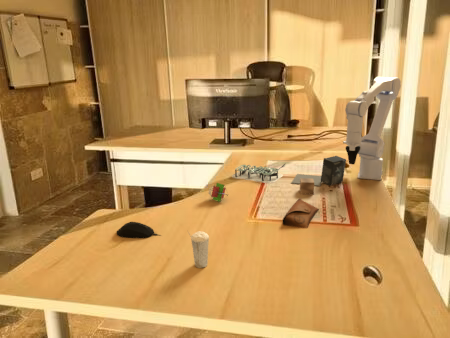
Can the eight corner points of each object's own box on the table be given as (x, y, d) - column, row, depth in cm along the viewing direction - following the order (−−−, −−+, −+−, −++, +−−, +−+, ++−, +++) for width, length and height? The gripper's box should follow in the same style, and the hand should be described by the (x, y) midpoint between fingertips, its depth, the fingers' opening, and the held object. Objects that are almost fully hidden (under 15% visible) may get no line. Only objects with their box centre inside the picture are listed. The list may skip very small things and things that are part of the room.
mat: (324, 177, 168) (324, 176, 168) (319, 186, 156) (319, 185, 156) (297, 174, 172) (297, 173, 172) (291, 183, 161) (291, 182, 161)
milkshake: (189, 261, 101) (187, 227, 99) (209, 259, 102) (208, 225, 99) (189, 270, 97) (187, 234, 94) (210, 268, 97) (208, 233, 95)
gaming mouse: (159, 241, 114) (158, 229, 112) (113, 237, 116) (112, 225, 115) (166, 232, 119) (165, 220, 118) (122, 228, 122) (121, 217, 121)
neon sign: (296, 159, 184) (272, 175, 160) (295, 167, 185) (272, 185, 161) (256, 154, 194) (228, 169, 170) (256, 162, 195) (228, 178, 171)
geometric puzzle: (222, 189, 149) (212, 176, 144) (234, 193, 145) (225, 180, 140) (212, 203, 147) (202, 191, 142) (224, 207, 142) (214, 195, 137)
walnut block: (312, 190, 152) (312, 178, 151) (313, 194, 148) (314, 182, 146) (299, 190, 153) (300, 178, 152) (300, 194, 148) (301, 182, 147)
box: (330, 186, 157) (333, 162, 153) (320, 181, 161) (323, 158, 157) (343, 182, 161) (346, 158, 157) (332, 178, 165) (336, 155, 161)
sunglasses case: (308, 229, 118) (298, 210, 118) (289, 236, 122) (279, 218, 122) (319, 208, 134) (311, 192, 134) (302, 215, 137) (293, 199, 137)
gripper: (345, 127, 160) (343, 158, 163) (342, 134, 147) (340, 167, 151) (363, 128, 157) (360, 159, 161) (361, 135, 144) (358, 169, 148)
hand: (351, 163), depth 156 cm, fingers closed
